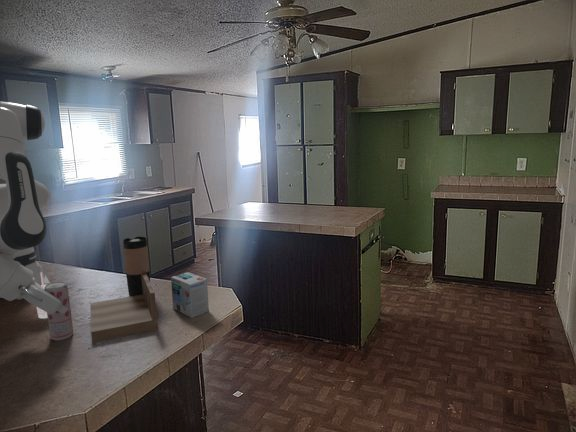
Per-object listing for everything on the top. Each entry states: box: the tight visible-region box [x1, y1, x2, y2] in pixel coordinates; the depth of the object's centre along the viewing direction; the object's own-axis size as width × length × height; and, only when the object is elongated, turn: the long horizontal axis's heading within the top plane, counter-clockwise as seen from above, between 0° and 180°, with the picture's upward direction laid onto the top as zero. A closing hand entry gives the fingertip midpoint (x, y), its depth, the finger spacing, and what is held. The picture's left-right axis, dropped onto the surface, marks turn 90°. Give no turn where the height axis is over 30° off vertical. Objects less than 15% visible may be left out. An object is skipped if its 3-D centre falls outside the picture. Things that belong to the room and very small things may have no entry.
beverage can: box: [44, 281, 74, 342], centre depth 115 cm, size 6×6×15 cm
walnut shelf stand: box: [89, 271, 159, 343], centre depth 125 cm, size 22×17×11 cm
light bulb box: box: [170, 271, 209, 318], centre depth 131 cm, size 11×7×11 cm, turn 47°
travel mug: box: [122, 236, 151, 297], centre depth 144 cm, size 8×8×20 cm
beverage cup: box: [35, 271, 48, 319], centre depth 129 cm, size 6×6×14 cm
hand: (60, 307), depth 115 cm, fingers closed on beverage can, 6 cm apart
